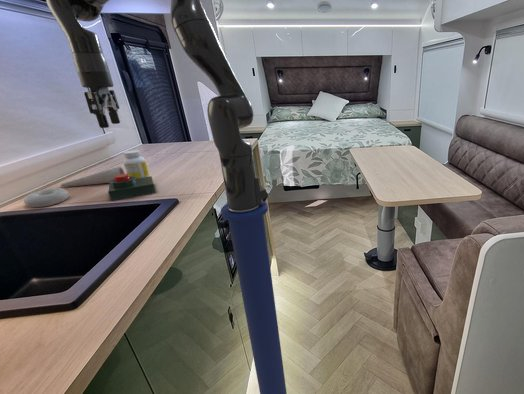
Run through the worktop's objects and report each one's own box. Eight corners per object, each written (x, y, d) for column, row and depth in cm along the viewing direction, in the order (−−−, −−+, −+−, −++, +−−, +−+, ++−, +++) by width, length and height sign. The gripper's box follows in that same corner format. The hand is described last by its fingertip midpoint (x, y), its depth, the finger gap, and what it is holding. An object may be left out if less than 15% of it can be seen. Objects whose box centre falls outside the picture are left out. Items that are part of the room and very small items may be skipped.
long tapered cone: (49, 181, 97) (117, 167, 104) (57, 177, 103) (121, 165, 110) (57, 196, 99) (123, 182, 106) (65, 192, 104) (127, 179, 112)
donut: (33, 212, 85) (75, 199, 93) (27, 201, 83) (71, 189, 91) (21, 204, 89) (63, 193, 97) (16, 194, 88) (59, 184, 96)
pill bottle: (149, 178, 112) (141, 148, 108) (152, 182, 108) (143, 151, 103) (129, 181, 109) (119, 151, 104) (130, 186, 104) (120, 154, 99)
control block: (153, 184, 106) (150, 171, 104) (155, 192, 98) (151, 178, 96) (112, 191, 99) (108, 177, 98) (111, 200, 92) (106, 186, 90)
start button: (130, 177, 99) (128, 172, 98) (130, 181, 96) (128, 176, 95) (115, 180, 96) (113, 175, 96) (115, 183, 93) (113, 178, 93)
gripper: (89, 70, 91) (106, 123, 98) (64, 69, 79) (85, 129, 85) (117, 70, 94) (132, 122, 100) (97, 69, 81) (115, 128, 87)
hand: (110, 125), depth 92 cm, fingers open, 8 cm apart
